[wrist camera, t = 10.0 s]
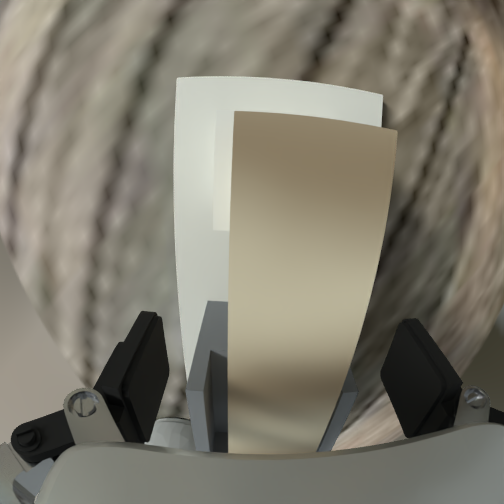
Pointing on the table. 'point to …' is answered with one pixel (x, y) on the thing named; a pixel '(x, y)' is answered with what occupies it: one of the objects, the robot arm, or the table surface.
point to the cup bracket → (218, 226)
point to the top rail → (299, 270)
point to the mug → (173, 434)
